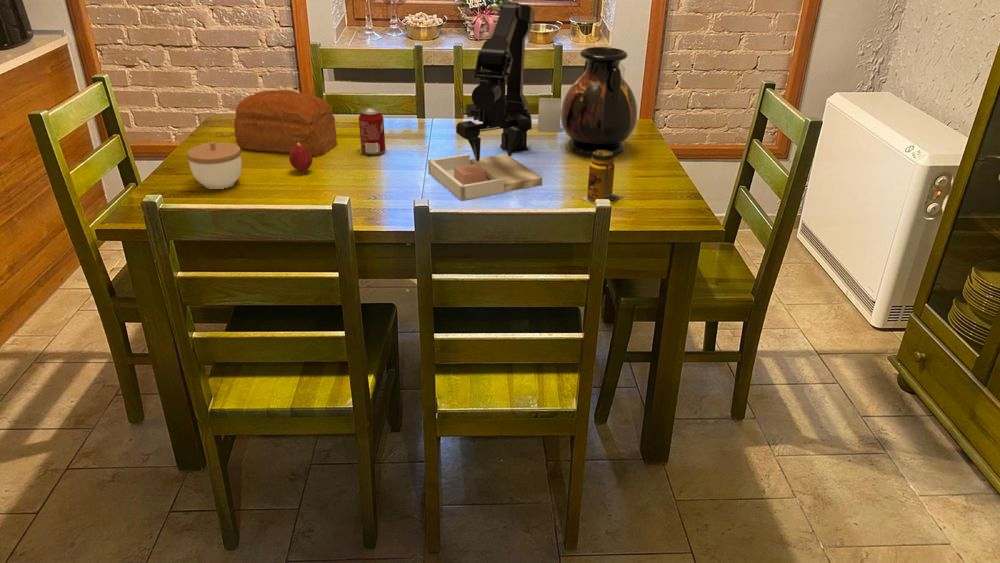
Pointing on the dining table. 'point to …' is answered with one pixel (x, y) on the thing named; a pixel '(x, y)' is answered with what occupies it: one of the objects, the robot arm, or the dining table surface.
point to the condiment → (601, 177)
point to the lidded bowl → (215, 164)
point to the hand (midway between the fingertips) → (493, 158)
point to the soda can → (372, 131)
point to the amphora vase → (599, 105)
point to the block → (469, 174)
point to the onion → (300, 158)
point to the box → (445, 175)
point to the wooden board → (508, 172)
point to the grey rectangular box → (549, 115)
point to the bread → (285, 122)
